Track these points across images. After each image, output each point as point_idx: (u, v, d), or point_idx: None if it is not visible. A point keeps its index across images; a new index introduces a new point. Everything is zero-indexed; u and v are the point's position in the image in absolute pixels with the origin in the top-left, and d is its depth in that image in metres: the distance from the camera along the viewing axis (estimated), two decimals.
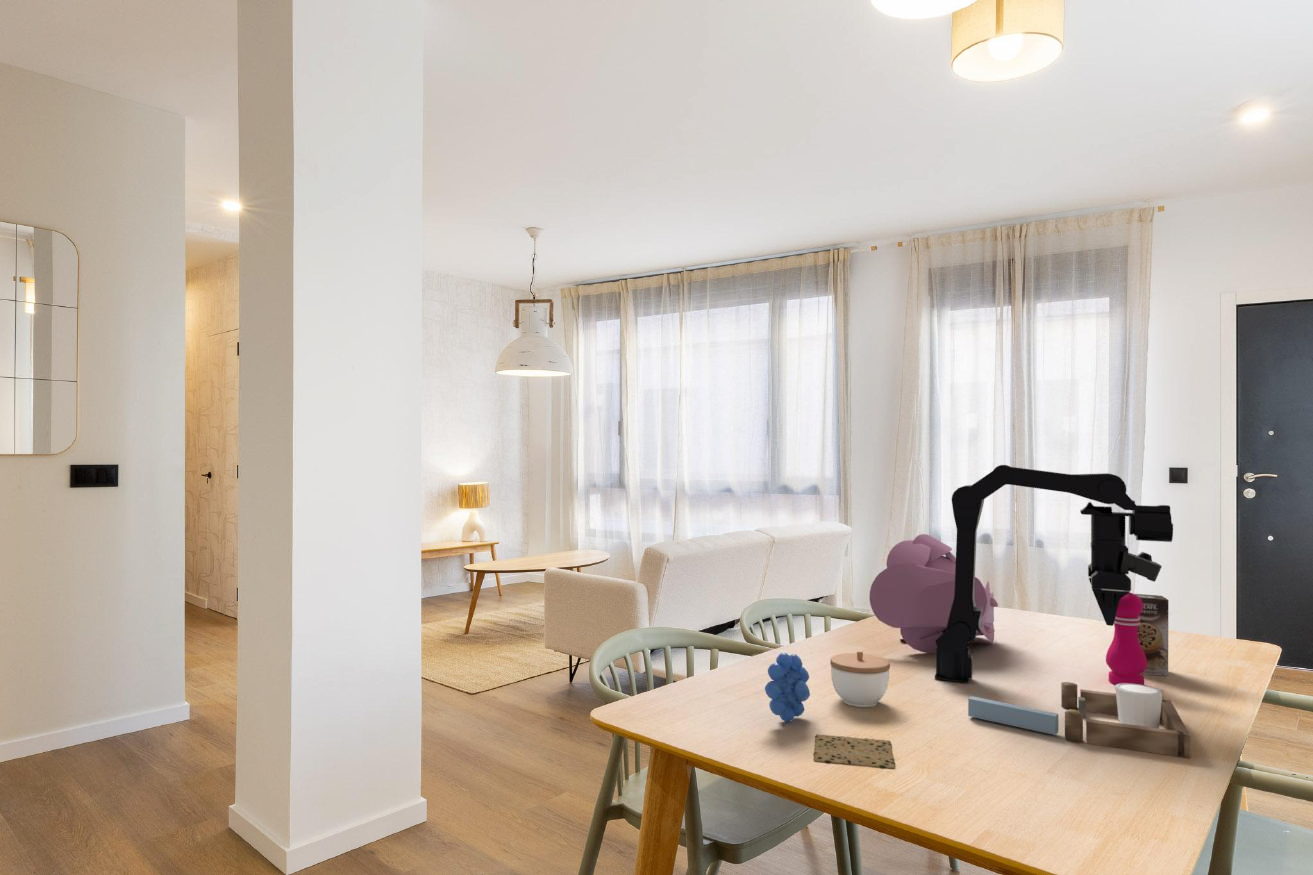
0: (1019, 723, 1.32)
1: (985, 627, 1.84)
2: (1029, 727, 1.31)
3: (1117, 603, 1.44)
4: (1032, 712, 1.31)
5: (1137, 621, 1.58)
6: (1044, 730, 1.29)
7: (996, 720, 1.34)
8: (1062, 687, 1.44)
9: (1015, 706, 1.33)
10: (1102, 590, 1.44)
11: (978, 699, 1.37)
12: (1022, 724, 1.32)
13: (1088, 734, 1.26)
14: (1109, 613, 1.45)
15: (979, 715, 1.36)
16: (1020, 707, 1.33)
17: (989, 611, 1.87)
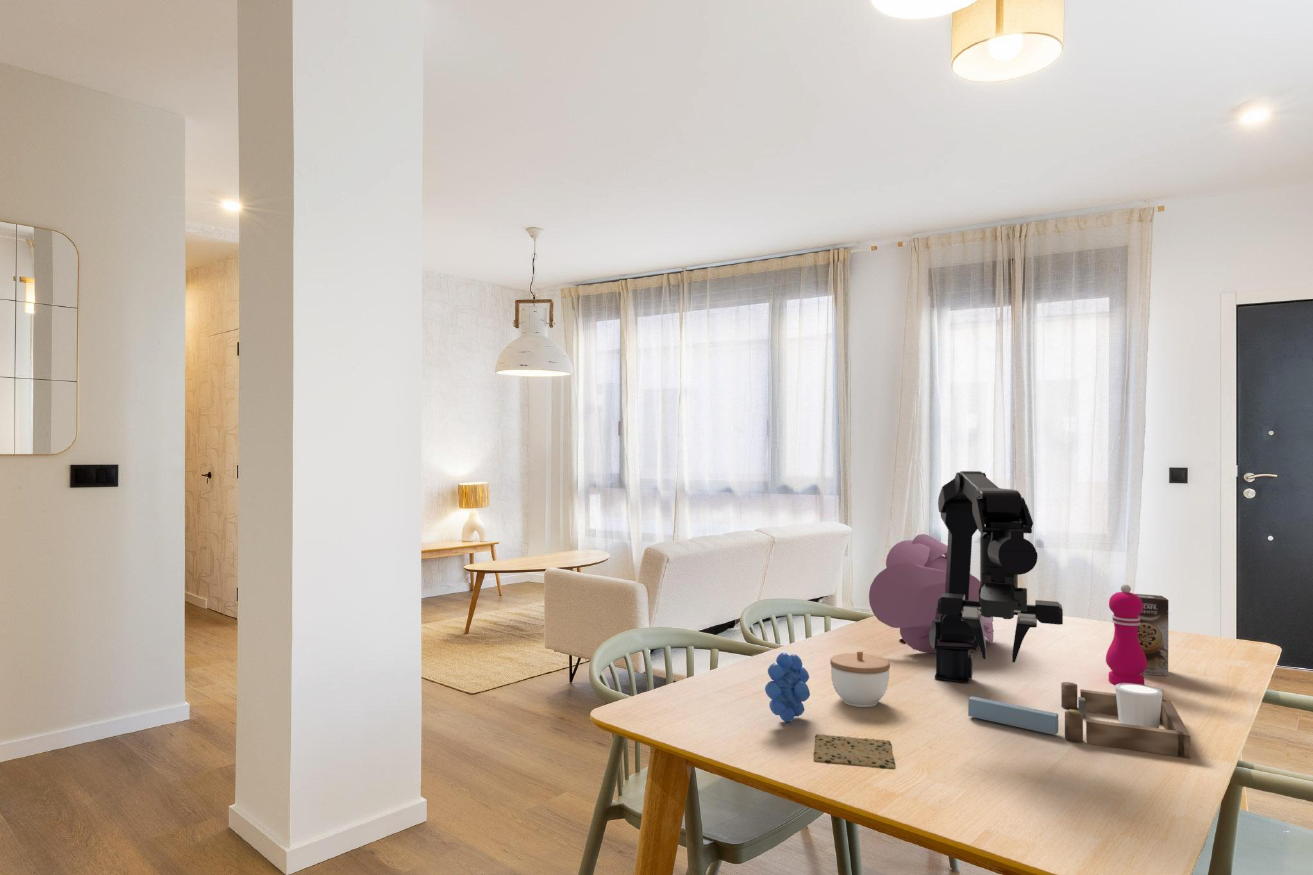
0: (1019, 723, 1.32)
1: (984, 627, 1.84)
2: (1029, 727, 1.31)
3: None
4: (1032, 712, 1.31)
5: (1137, 621, 1.58)
6: (1044, 730, 1.29)
7: (996, 720, 1.34)
8: (1062, 687, 1.44)
9: (1015, 706, 1.33)
10: None
11: (978, 699, 1.37)
12: (1022, 724, 1.32)
13: (1088, 734, 1.26)
14: None
15: (979, 715, 1.36)
16: (1020, 707, 1.33)
17: None
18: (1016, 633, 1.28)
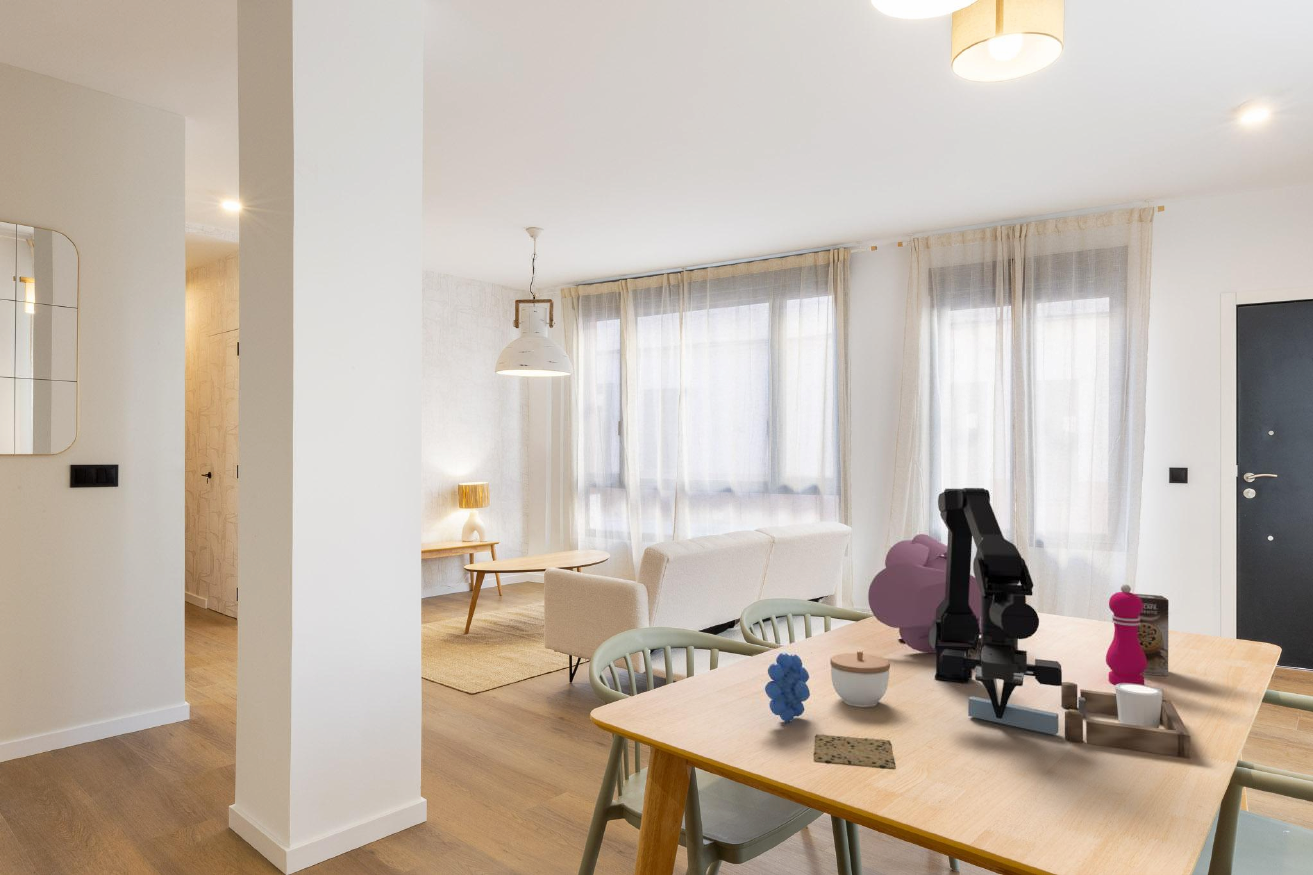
0: (1019, 723, 1.32)
1: None
2: (1029, 727, 1.31)
3: None
4: (1032, 712, 1.31)
5: (1137, 621, 1.58)
6: (1044, 730, 1.29)
7: (996, 720, 1.34)
8: (1062, 687, 1.44)
9: (1015, 706, 1.33)
10: None
11: (978, 699, 1.37)
12: (1022, 724, 1.32)
13: (1088, 734, 1.26)
14: None
15: (979, 715, 1.36)
16: (1020, 707, 1.33)
17: None
18: (1003, 690, 1.31)
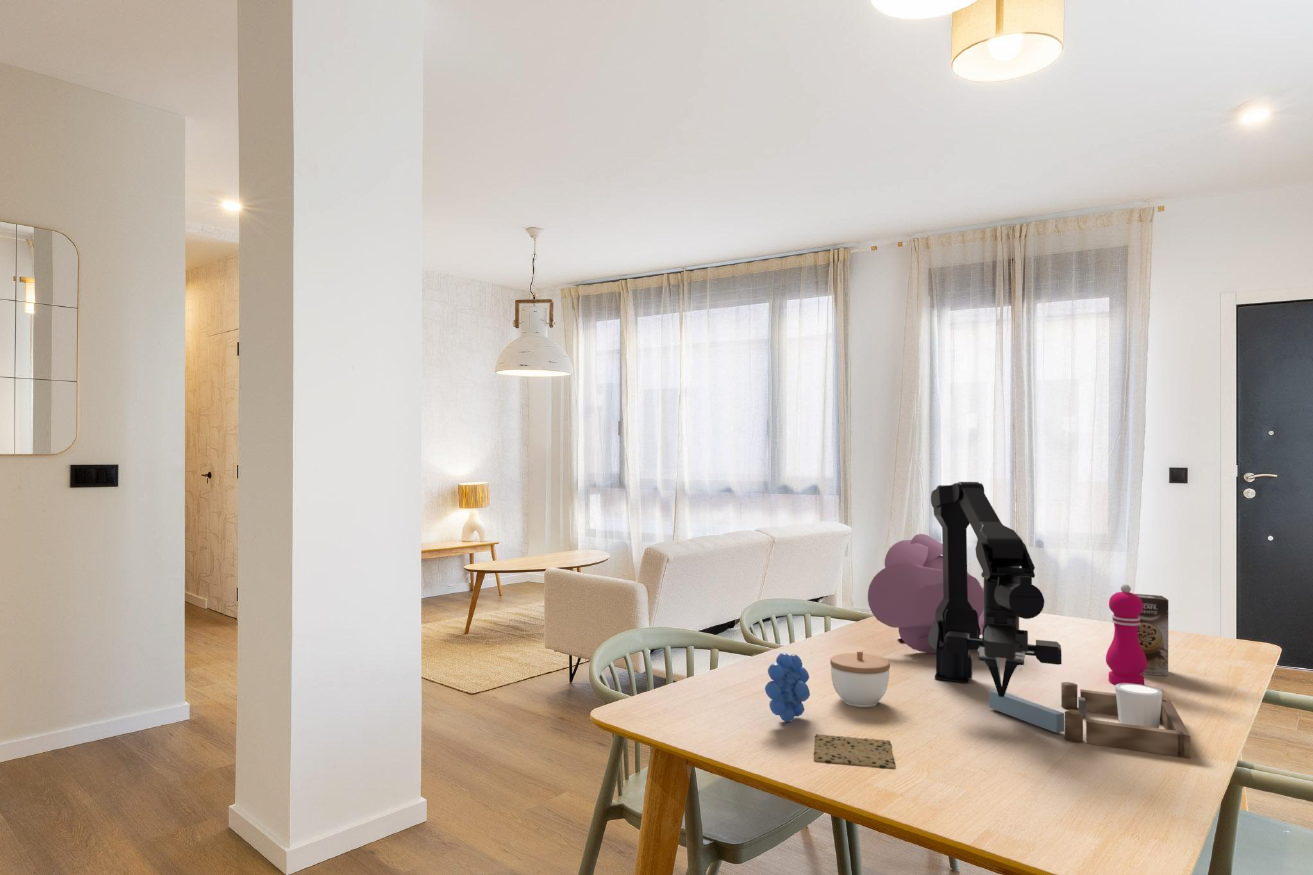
0: (1028, 718, 1.34)
1: (983, 626, 1.84)
2: (1036, 723, 1.33)
3: None
4: (1038, 708, 1.33)
5: (1137, 621, 1.58)
6: (1047, 727, 1.31)
7: (1010, 714, 1.38)
8: (1062, 687, 1.44)
9: (1028, 702, 1.36)
10: None
11: (997, 692, 1.41)
12: (1030, 719, 1.34)
13: (1088, 734, 1.26)
14: None
15: (997, 707, 1.40)
16: (1031, 703, 1.35)
17: None
18: (1005, 670, 1.37)
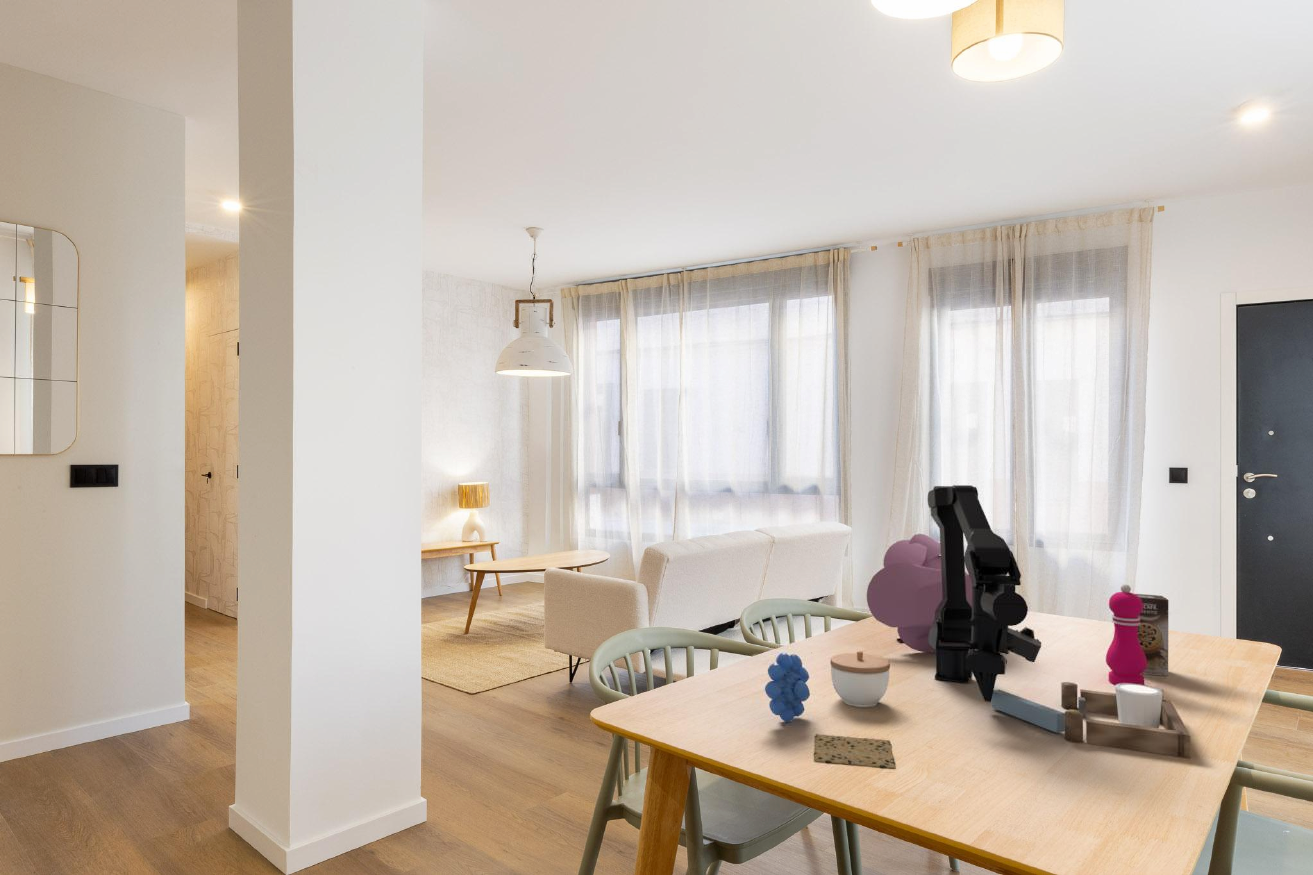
0: (1028, 718, 1.35)
1: None
2: (1036, 723, 1.33)
3: (994, 679, 1.39)
4: (1039, 708, 1.33)
5: (1137, 621, 1.58)
6: (1048, 727, 1.31)
7: (1012, 713, 1.38)
8: (1062, 687, 1.44)
9: (1029, 702, 1.36)
10: None
11: (999, 692, 1.41)
12: (1031, 719, 1.34)
13: (1088, 734, 1.26)
14: (986, 689, 1.40)
15: (999, 707, 1.41)
16: (1032, 703, 1.35)
17: None
18: None
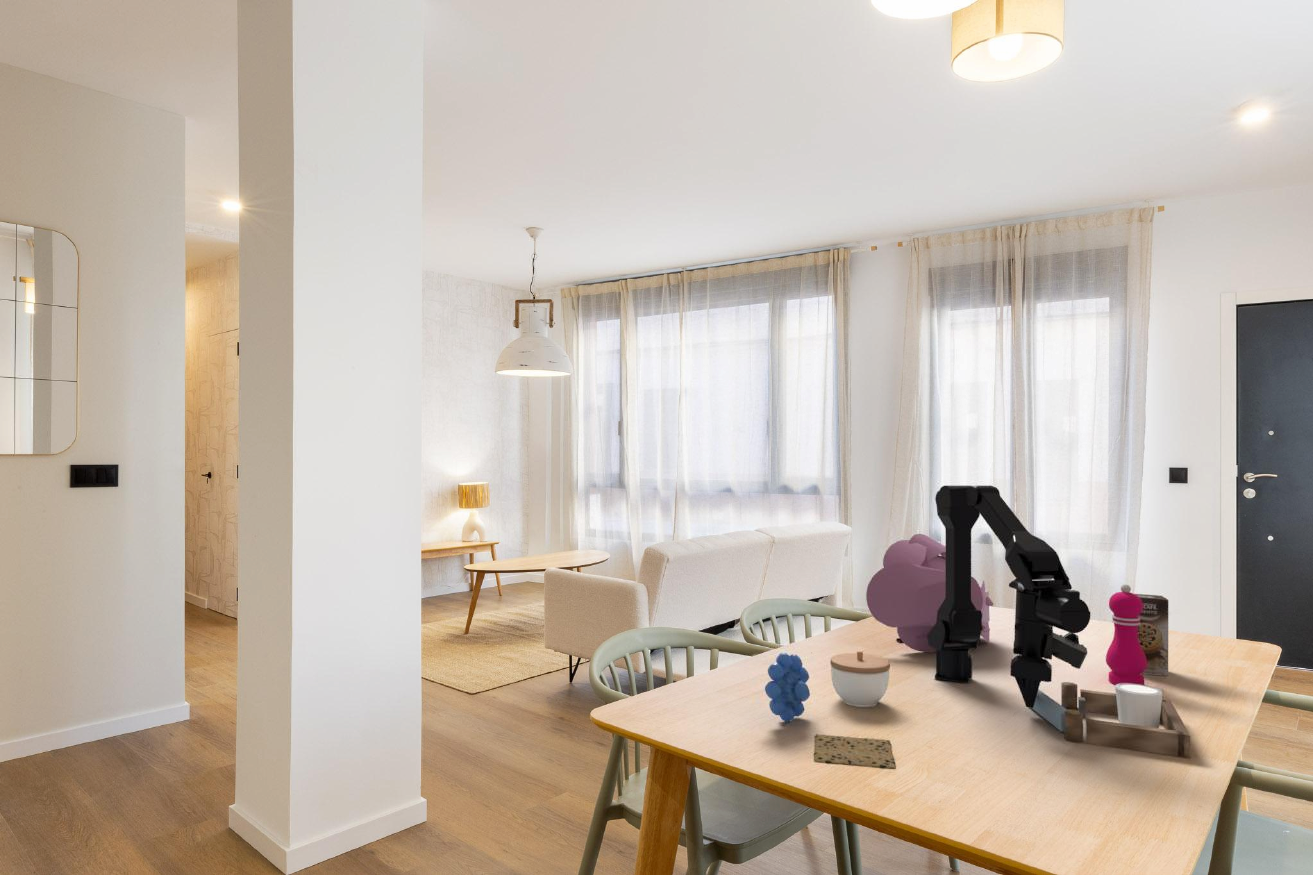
0: (1046, 716, 1.35)
1: None
2: (1051, 721, 1.34)
3: (1037, 686, 1.36)
4: (1052, 707, 1.33)
5: (1137, 621, 1.58)
6: (1057, 726, 1.32)
7: (1038, 711, 1.39)
8: (1062, 687, 1.44)
9: (1050, 701, 1.36)
10: None
11: None
12: (1048, 718, 1.35)
13: (1088, 734, 1.26)
14: (1029, 695, 1.37)
15: None
16: (1052, 702, 1.36)
17: (985, 610, 1.88)
18: None
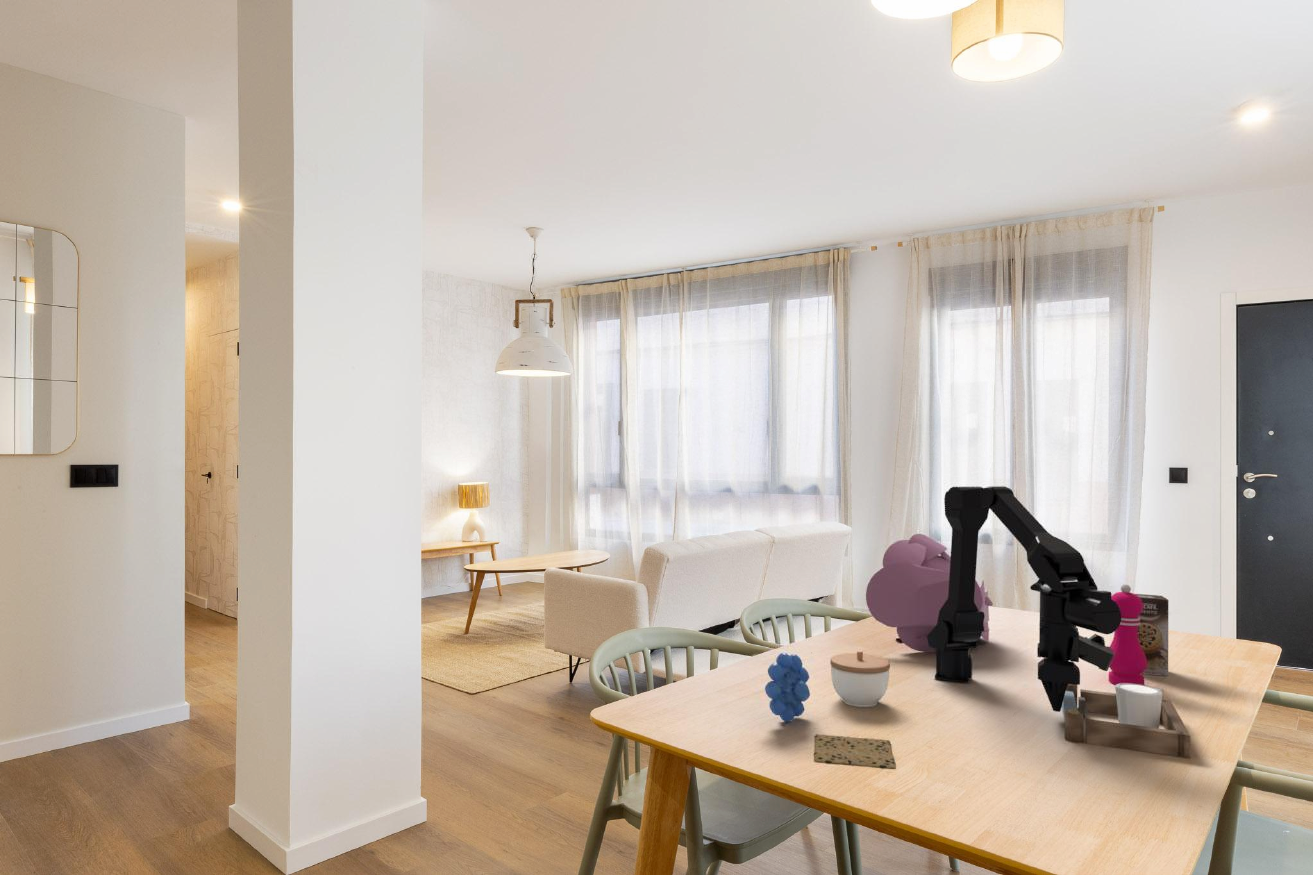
0: (1064, 717, 1.35)
1: None
2: None
3: (1064, 689, 1.34)
4: (1065, 707, 1.33)
5: (1137, 621, 1.58)
6: None
7: (1063, 713, 1.38)
8: None
9: (1070, 702, 1.36)
10: None
11: (1065, 692, 1.41)
12: None
13: (1088, 734, 1.26)
14: (1056, 699, 1.36)
15: (1062, 707, 1.41)
16: (1071, 704, 1.35)
17: (984, 610, 1.88)
18: None
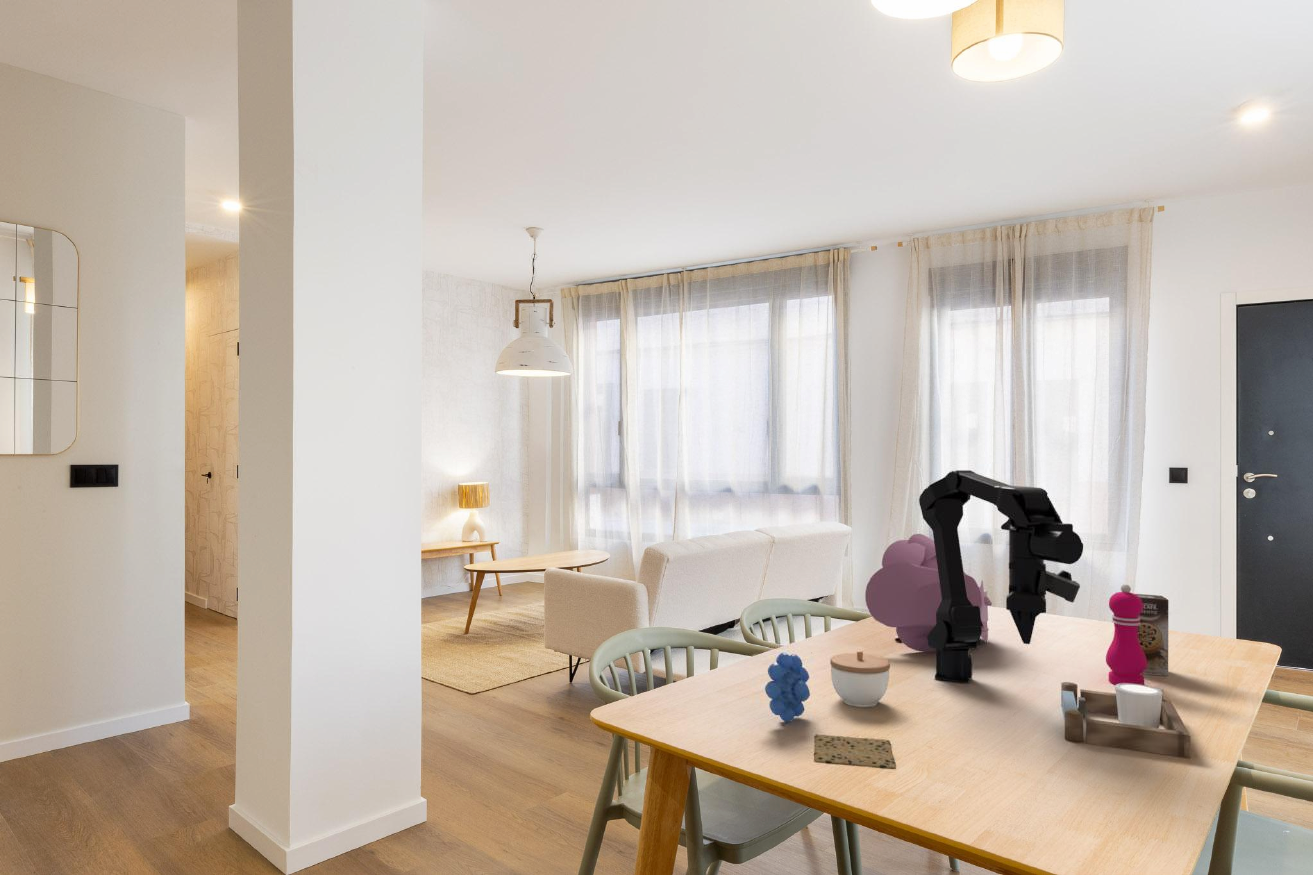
0: (1064, 717, 1.35)
1: None
2: None
3: (1033, 621, 1.40)
4: (1065, 707, 1.33)
5: (1137, 621, 1.58)
6: None
7: (1063, 713, 1.38)
8: (1062, 687, 1.44)
9: (1070, 702, 1.36)
10: None
11: (1065, 692, 1.41)
12: None
13: (1088, 734, 1.26)
14: (1025, 631, 1.41)
15: (1062, 707, 1.41)
16: (1071, 704, 1.35)
17: (983, 610, 1.89)
18: None
